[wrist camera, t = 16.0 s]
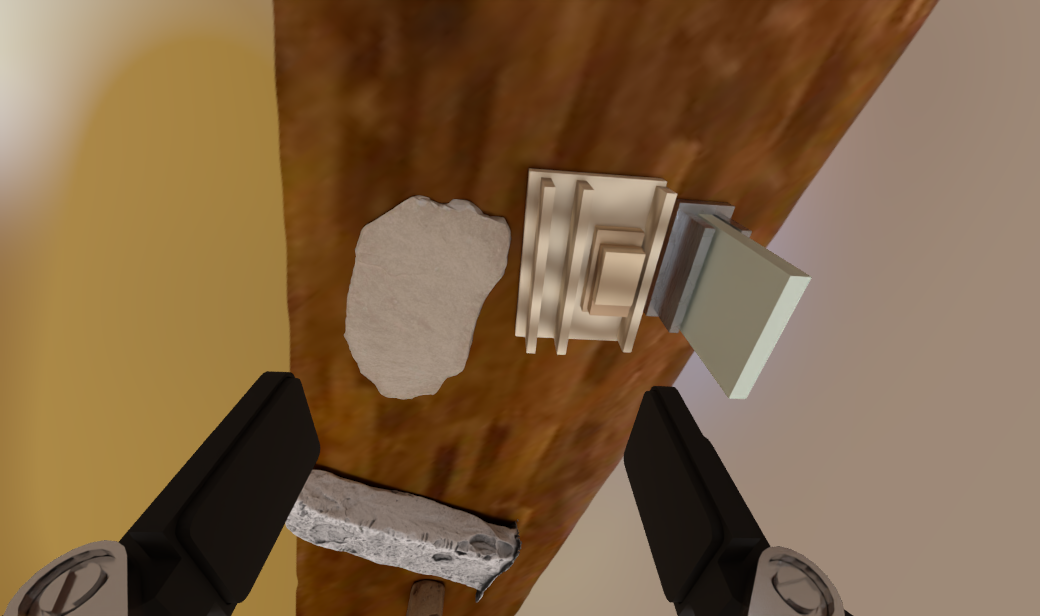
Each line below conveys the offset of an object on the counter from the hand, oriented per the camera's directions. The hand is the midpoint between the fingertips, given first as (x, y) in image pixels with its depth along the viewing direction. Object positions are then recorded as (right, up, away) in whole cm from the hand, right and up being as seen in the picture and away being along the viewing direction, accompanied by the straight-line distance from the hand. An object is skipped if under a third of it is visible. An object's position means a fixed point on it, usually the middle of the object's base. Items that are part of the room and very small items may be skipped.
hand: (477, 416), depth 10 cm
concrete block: (-19, -35, +59) cm, 71 cm away
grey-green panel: (+20, +8, +32) cm, 39 cm away
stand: (+20, +9, +33) cm, 40 cm away
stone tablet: (-12, +4, +36) cm, 38 cm away
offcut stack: (+11, +8, +32) cm, 35 cm away
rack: (+8, +8, +33) cm, 35 cm away
